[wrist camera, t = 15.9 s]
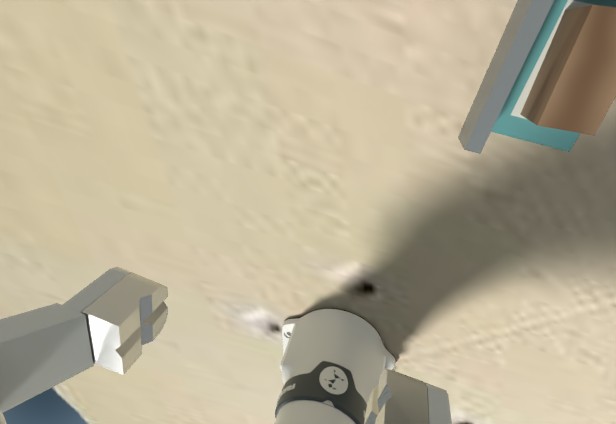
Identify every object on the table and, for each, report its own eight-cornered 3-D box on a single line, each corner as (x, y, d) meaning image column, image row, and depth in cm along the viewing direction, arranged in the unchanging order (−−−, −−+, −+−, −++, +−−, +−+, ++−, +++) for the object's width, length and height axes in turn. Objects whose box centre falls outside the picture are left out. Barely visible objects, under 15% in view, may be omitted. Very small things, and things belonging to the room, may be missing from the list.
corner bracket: (605, 176, 34) (630, 193, 30) (458, 137, 36) (464, 149, 32) (734, -7, 26) (791, -15, 22) (537, -45, 28) (558, -58, 24)
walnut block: (622, 16, 28) (661, 12, 24) (569, 122, 33) (594, 135, 28) (565, 9, 29) (592, 4, 25) (520, 114, 33) (537, 125, 29)
